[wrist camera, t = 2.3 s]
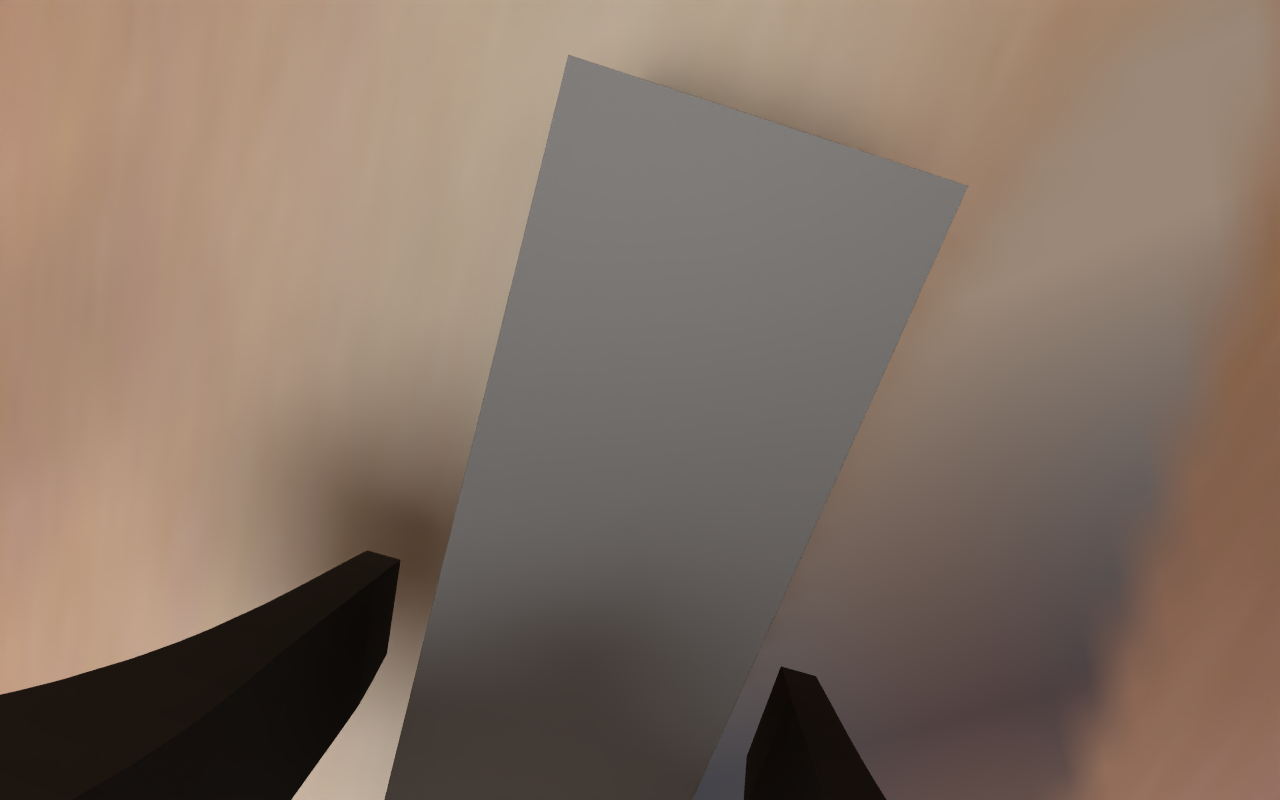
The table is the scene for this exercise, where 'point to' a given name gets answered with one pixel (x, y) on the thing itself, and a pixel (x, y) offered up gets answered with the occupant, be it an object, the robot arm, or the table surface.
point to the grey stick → (655, 438)
